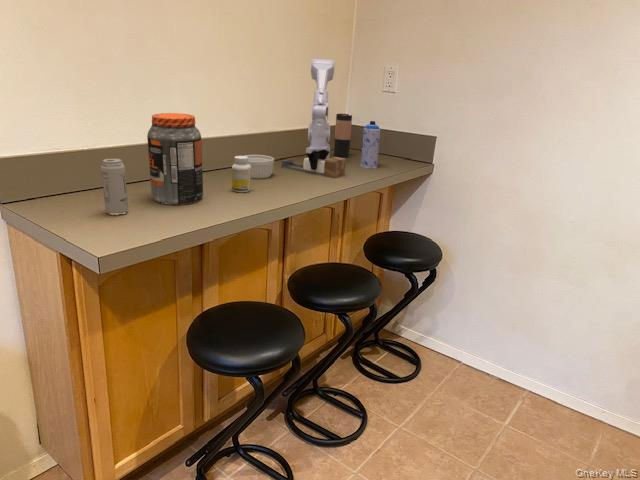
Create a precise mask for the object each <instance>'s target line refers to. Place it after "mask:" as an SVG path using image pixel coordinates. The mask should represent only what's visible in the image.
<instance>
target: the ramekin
mask: <svg viewBox="0 0 640 480" xmlns="http://www.w3.org/2000/svg"><path fill="white" fill-rule="evenodd" d="M245 156H247V157H248V164H249V165H250V166H251V179H256V180H257V179H267V178H270V177H271V175H272V174H273V169H274V163H275V158H274V157H272V156H269V155H263V154H248V155H247V154H245Z"/></svg>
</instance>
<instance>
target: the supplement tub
mask: <svg viewBox="0 0 640 480" xmlns="http://www.w3.org/2000/svg"><path fill="white" fill-rule="evenodd" d="M146 135H147V137H146V138H147V139H146V140H147V150H148V152H147V153H148V162H149V165H148V166H149V178H150V188H151V189H150V191H151V198H152V199H153V200H154V201H155V200H156V202H157V201H158V203H160V202H161V203H160V204H164V203H167V204H166V205H170V204H182V205H188V204H192V202H193V203H195V202H199V201H200V200H201V199H202V198H203V196H204V182H203V181H204V179H203V178H204V177H203V150H202V149H203V148H202V134H201V132H200V130H199V128H197V127H196V117H195V115H194V114H189V113H177V112H173V113H172V112H162V113H155V114H152V115H151V126H150V128H149V129H148V132H147V134H146ZM187 203H188V204H187Z"/></svg>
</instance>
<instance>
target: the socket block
mask: <svg viewBox="0 0 640 480" xmlns="http://www.w3.org/2000/svg"><path fill="white" fill-rule="evenodd" d="M346 159H347V158H340V157H335V156H332V157H330V158H328V159H325V164H324V176H323V177H327V178H332V179H336V178H339V177H343V176H345V171H346Z"/></svg>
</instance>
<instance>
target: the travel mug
mask: <svg viewBox="0 0 640 480" xmlns="http://www.w3.org/2000/svg"><path fill="white" fill-rule="evenodd" d="M352 120H353V115H352V114H351V115H349V114H348V113H336V116H335V127H334V130H335V132H334V141H333V142H334V147H333V149H334V150H333V157H340V158H345V159H347V158H349V156H350V154H349V153H350V147H351V138H352V136H351V135H352Z"/></svg>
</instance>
